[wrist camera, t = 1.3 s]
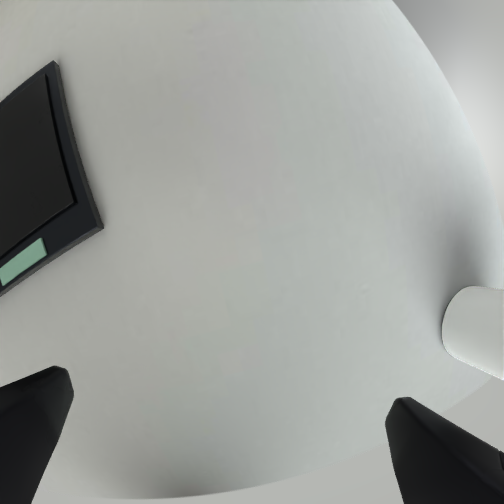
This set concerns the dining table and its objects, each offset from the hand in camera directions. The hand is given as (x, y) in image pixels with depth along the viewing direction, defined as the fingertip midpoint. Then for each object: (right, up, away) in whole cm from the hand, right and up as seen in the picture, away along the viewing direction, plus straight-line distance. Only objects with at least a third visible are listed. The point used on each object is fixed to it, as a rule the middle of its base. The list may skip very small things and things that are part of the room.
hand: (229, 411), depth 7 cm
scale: (-21, +10, +13) cm, 27 cm away
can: (+19, -2, +15) cm, 24 cm away
